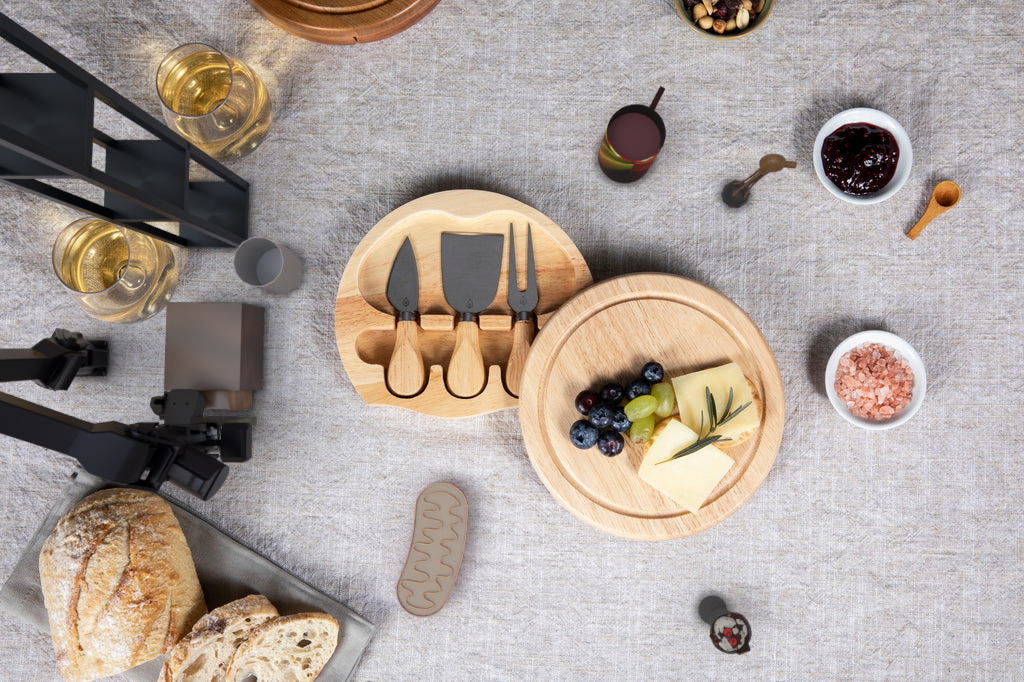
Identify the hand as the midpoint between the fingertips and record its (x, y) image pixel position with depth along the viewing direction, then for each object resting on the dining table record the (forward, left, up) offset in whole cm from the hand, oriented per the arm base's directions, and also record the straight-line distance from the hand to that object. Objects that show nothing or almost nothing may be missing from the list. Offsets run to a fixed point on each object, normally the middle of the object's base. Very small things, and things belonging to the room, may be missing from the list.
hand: (216, 437), depth 114 cm
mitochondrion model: (+38, -19, -4) cm, 42 cm away
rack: (-3, +39, -4) cm, 40 cm away
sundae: (+86, -30, -4) cm, 91 cm away
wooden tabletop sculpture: (+91, +43, -4) cm, 101 cm away
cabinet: (0, +15, -4) cm, 16 cm away
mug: (+71, +52, -4) cm, 88 cm away
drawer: (0, +7, -3) cm, 7 cm away
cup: (+9, +29, -4) cm, 31 cm away
